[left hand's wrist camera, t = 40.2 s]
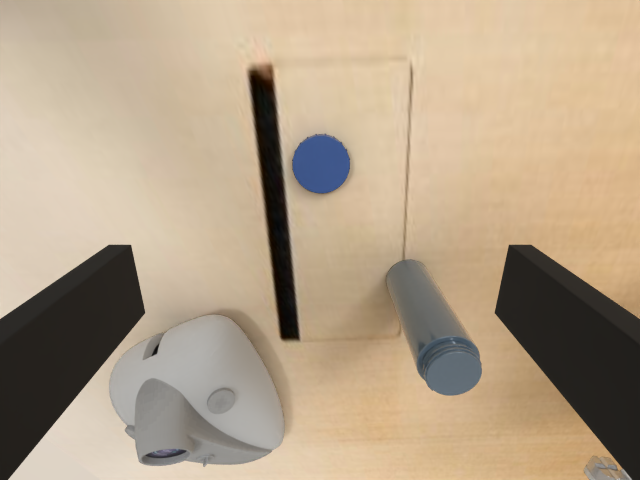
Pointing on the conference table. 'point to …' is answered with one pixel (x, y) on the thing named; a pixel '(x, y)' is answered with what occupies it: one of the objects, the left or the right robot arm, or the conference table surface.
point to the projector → (197, 396)
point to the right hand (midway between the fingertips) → (621, 427)
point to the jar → (433, 330)
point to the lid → (321, 163)
